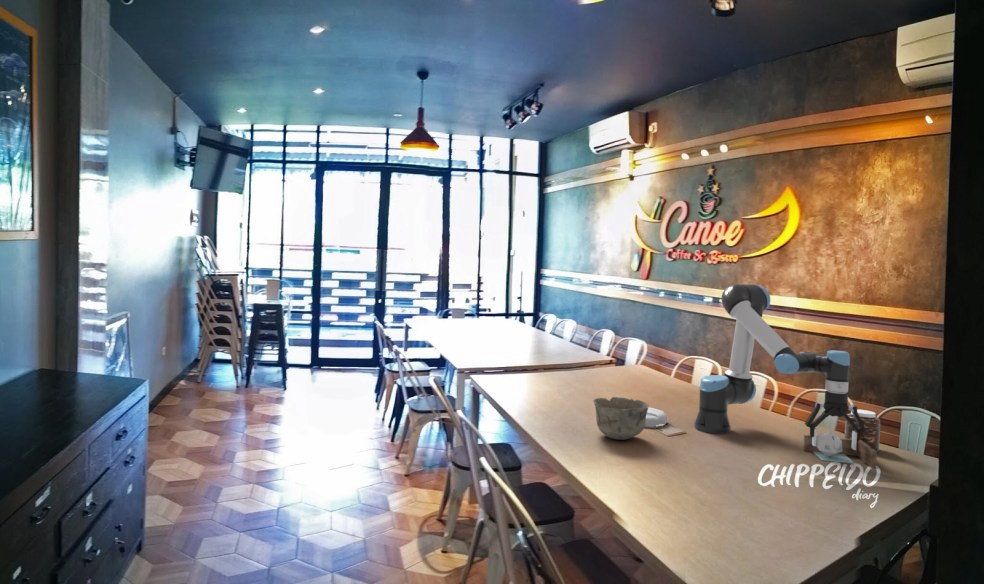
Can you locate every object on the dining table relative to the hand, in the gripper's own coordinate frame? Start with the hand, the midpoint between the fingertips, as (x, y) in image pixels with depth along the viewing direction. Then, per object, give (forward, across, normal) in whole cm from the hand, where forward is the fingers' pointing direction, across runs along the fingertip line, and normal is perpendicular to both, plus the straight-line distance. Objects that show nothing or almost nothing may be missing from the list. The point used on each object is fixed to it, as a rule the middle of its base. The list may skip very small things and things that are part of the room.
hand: (833, 447), depth 223 cm
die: (+4, -2, -1) cm, 4 cm away
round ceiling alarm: (+5, -70, +28) cm, 75 cm away
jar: (+4, +16, +18) cm, 25 cm away
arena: (+4, +2, 0) cm, 4 cm away
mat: (+4, 0, 0) cm, 4 cm away
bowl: (+4, -80, -2) cm, 80 cm away
